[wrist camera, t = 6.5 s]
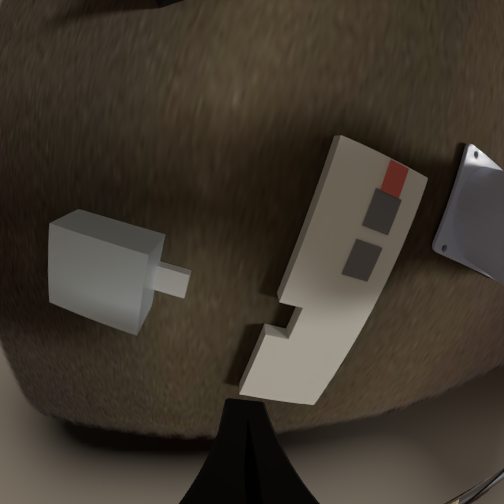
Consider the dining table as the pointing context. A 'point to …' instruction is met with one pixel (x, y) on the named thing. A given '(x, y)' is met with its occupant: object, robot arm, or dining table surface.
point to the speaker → (166, 2)
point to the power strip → (335, 271)
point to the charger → (109, 269)
